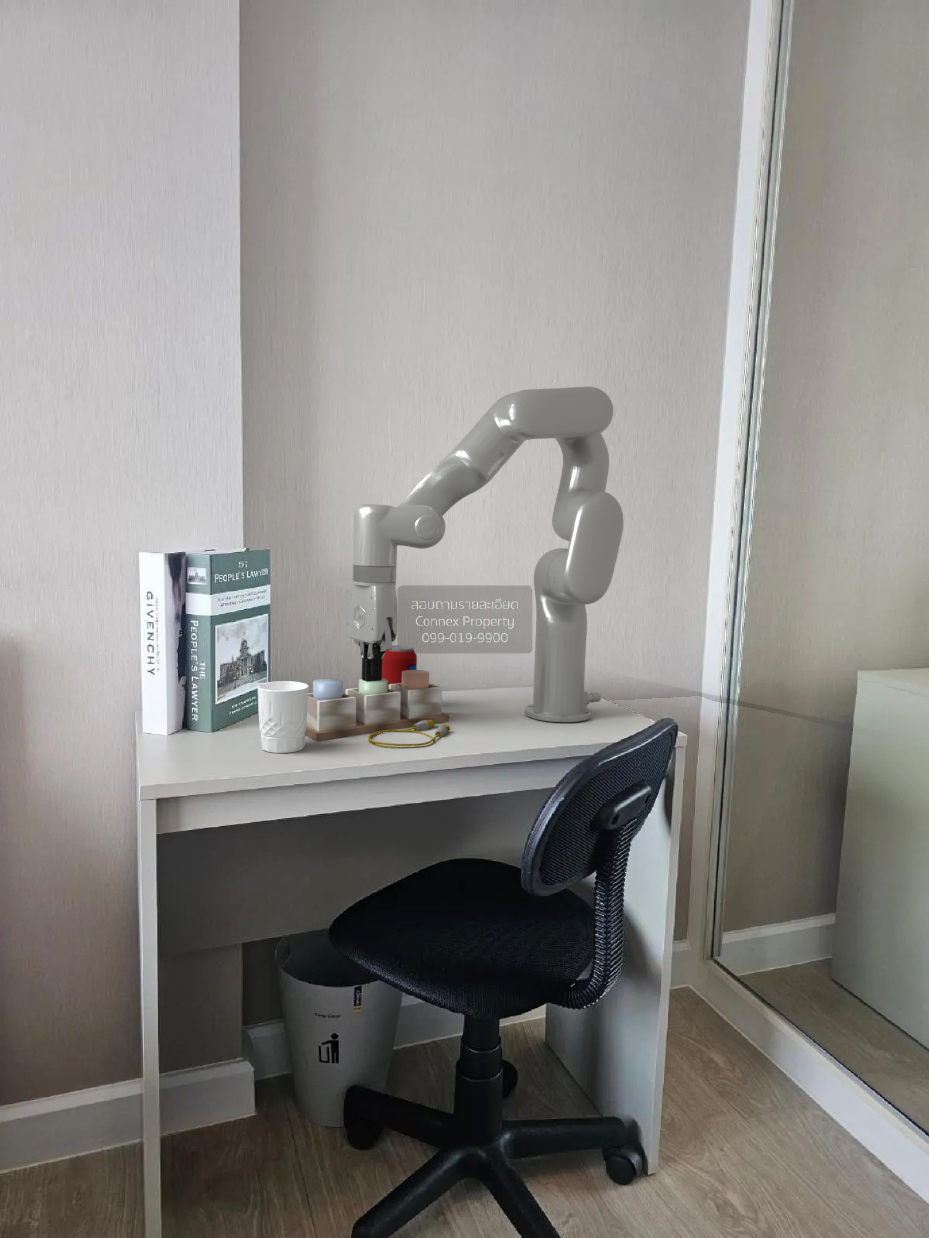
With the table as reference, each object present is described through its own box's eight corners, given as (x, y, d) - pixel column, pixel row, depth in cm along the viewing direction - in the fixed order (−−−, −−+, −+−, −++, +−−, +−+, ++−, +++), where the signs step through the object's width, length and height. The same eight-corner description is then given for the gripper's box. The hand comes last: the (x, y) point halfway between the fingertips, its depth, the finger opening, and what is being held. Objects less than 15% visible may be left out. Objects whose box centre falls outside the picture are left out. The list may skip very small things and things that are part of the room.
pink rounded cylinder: (418, 695, 167) (419, 668, 167) (434, 700, 163) (434, 673, 163) (396, 698, 164) (396, 671, 164) (411, 703, 160) (411, 675, 160)
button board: (420, 711, 171) (421, 679, 170) (448, 721, 163) (449, 687, 163) (291, 729, 154) (291, 693, 153) (316, 740, 147) (316, 703, 146)
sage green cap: (377, 703, 162) (377, 676, 161) (392, 709, 158) (392, 681, 157) (353, 707, 159) (353, 679, 158) (368, 712, 155) (368, 684, 154)
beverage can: (420, 711, 170) (421, 649, 169) (386, 714, 168) (387, 650, 166) (409, 704, 177) (410, 644, 175) (376, 706, 174) (377, 645, 173)
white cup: (308, 741, 147) (309, 681, 146) (307, 754, 139) (307, 690, 138) (259, 741, 146) (259, 681, 144) (255, 754, 138) (255, 690, 137)
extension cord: (469, 744, 150) (470, 733, 149) (383, 755, 142) (383, 742, 141) (435, 728, 160) (435, 717, 160) (353, 737, 152) (353, 725, 152)
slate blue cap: (333, 705, 156) (333, 677, 156) (347, 711, 152) (348, 682, 152) (307, 709, 153) (307, 680, 153) (321, 714, 149) (321, 685, 149)
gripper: (334, 573, 159) (331, 675, 161) (379, 580, 147) (375, 689, 150) (370, 572, 164) (367, 671, 166) (416, 579, 152) (413, 685, 154)
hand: (371, 680), depth 158 cm, fingers closed
